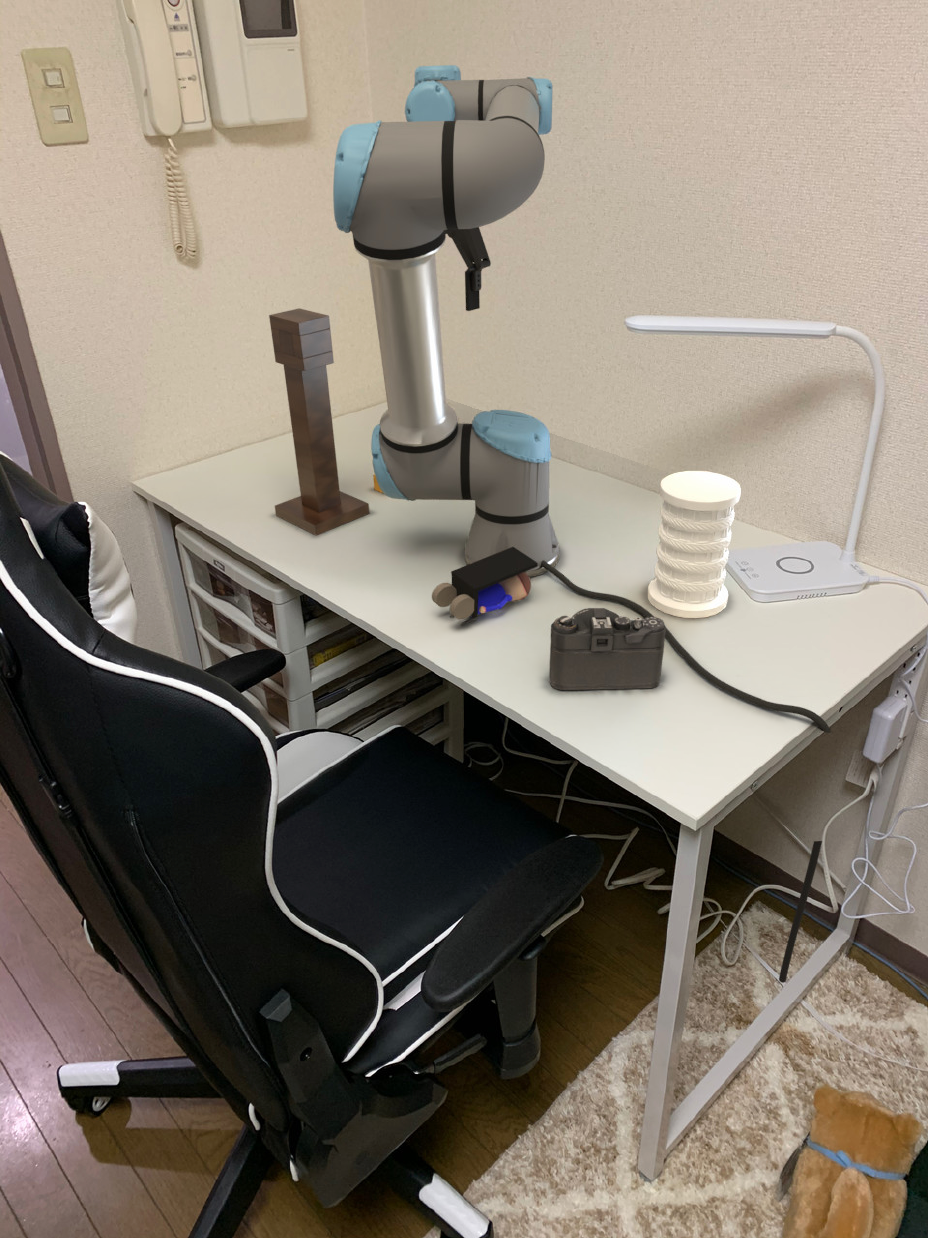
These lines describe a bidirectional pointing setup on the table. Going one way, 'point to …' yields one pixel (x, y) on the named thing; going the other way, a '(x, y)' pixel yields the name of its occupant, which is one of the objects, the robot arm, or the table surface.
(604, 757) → the table surface
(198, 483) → the table surface
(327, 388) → the stand
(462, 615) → the figurine character
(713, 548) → the decorative container
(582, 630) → the camera
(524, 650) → the table surface
